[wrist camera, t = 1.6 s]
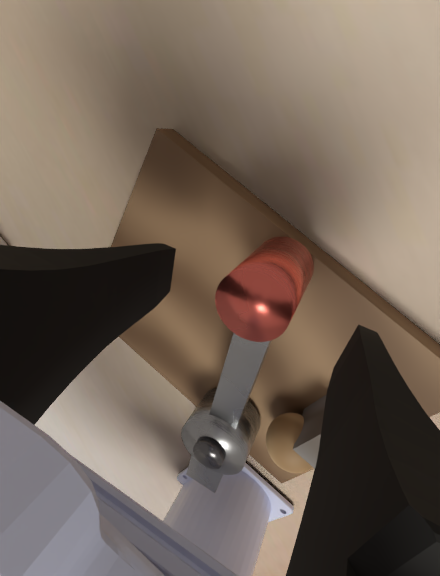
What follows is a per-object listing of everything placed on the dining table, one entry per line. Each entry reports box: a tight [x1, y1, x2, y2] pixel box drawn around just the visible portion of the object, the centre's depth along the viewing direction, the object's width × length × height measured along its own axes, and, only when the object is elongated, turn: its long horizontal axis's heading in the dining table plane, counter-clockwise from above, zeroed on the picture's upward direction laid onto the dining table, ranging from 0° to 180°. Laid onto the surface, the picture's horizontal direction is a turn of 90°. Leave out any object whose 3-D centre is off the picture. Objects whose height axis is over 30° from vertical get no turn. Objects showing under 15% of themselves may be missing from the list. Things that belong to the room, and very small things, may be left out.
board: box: [111, 128, 440, 483], centre depth 18 cm, size 15×20×5 cm
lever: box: [181, 237, 314, 493], centre depth 17 cm, size 18×4×5 cm, turn 167°
